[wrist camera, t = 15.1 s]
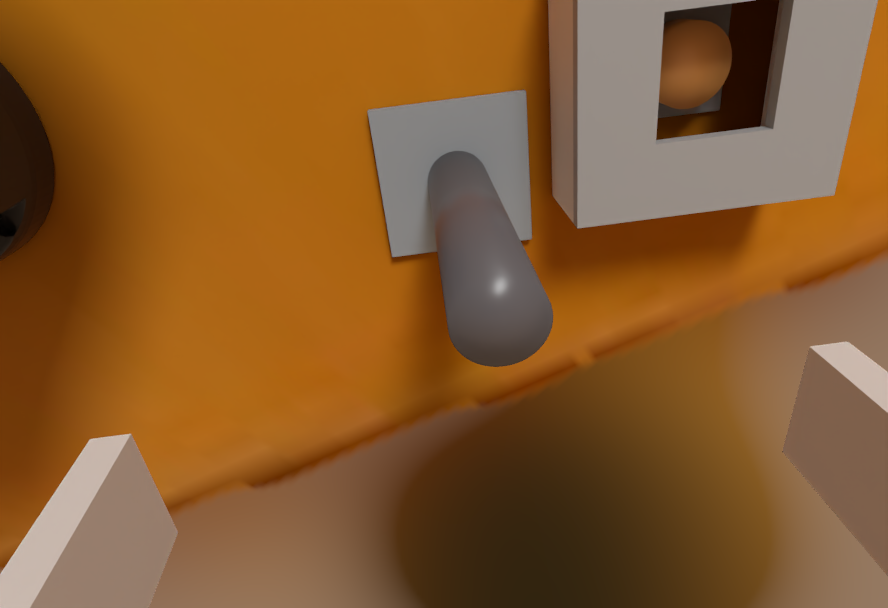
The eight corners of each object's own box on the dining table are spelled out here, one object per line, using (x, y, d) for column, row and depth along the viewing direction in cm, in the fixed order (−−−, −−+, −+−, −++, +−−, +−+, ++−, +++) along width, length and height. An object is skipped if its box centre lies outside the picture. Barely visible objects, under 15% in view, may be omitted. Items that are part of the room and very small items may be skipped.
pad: (392, 253, 37) (392, 257, 37) (368, 109, 33) (367, 111, 32) (530, 235, 37) (532, 239, 37) (523, 89, 33) (525, 91, 32)
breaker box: (552, 195, 36) (577, 228, 31) (546, -69, 29) (577, -82, 24) (772, 166, 36) (834, 195, 31) (817, -103, 29) (905, -124, 24)
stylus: (431, 212, 35) (453, 372, 20) (424, 154, 34) (442, 282, 19) (489, 205, 35) (553, 359, 20) (485, 147, 34) (552, 268, 19)
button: (634, 107, 33) (647, 114, 31) (638, 24, 31) (652, 25, 29) (709, 98, 33) (726, 103, 32) (718, 13, 31) (737, 14, 29)
